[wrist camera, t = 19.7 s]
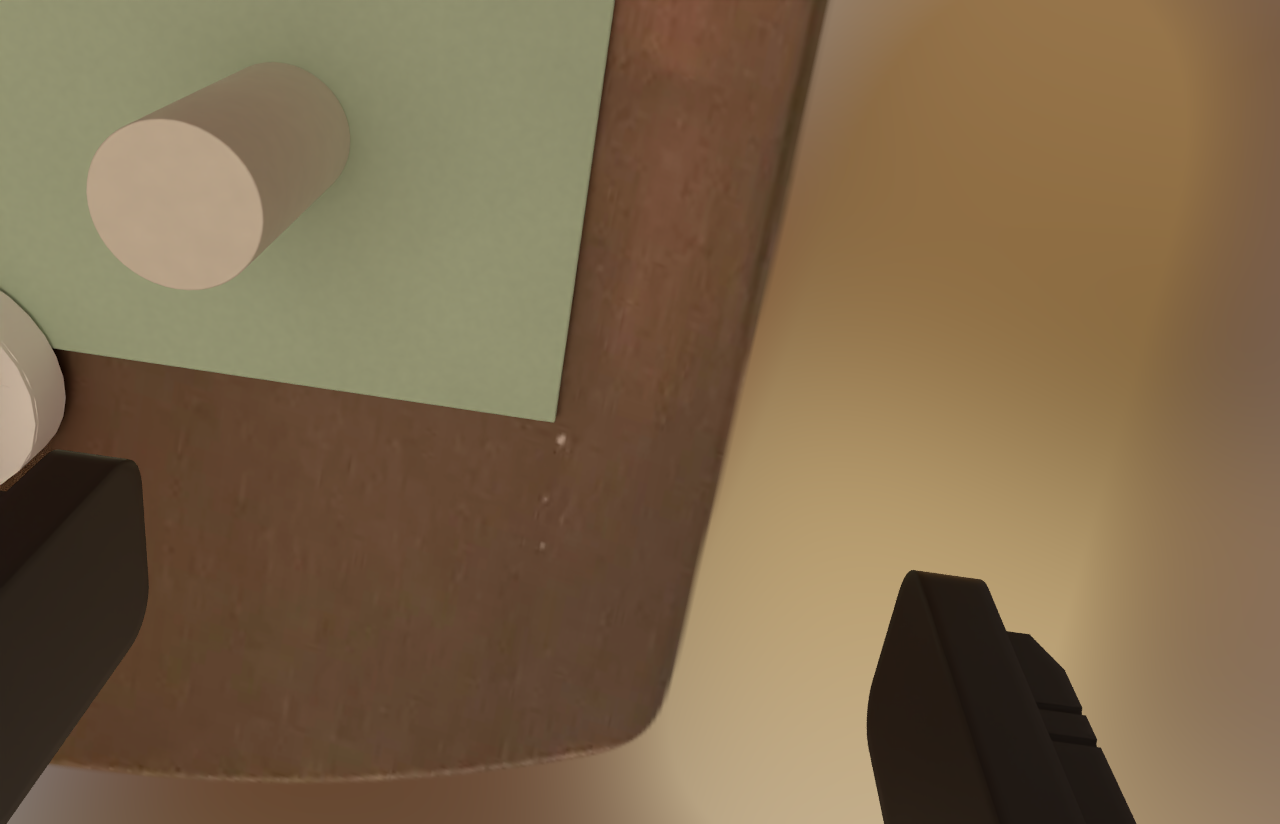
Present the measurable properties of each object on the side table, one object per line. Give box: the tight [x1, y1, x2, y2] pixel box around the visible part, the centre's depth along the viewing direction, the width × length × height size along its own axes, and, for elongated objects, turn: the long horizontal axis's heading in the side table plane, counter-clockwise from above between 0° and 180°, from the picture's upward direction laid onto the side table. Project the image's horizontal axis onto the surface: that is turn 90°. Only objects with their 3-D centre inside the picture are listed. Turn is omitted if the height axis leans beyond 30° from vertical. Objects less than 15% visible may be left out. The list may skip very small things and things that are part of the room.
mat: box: [0, 0, 615, 422], centre depth 37 cm, size 20×16×1 cm
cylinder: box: [86, 62, 350, 290], centre depth 32 cm, size 4×4×9 cm
